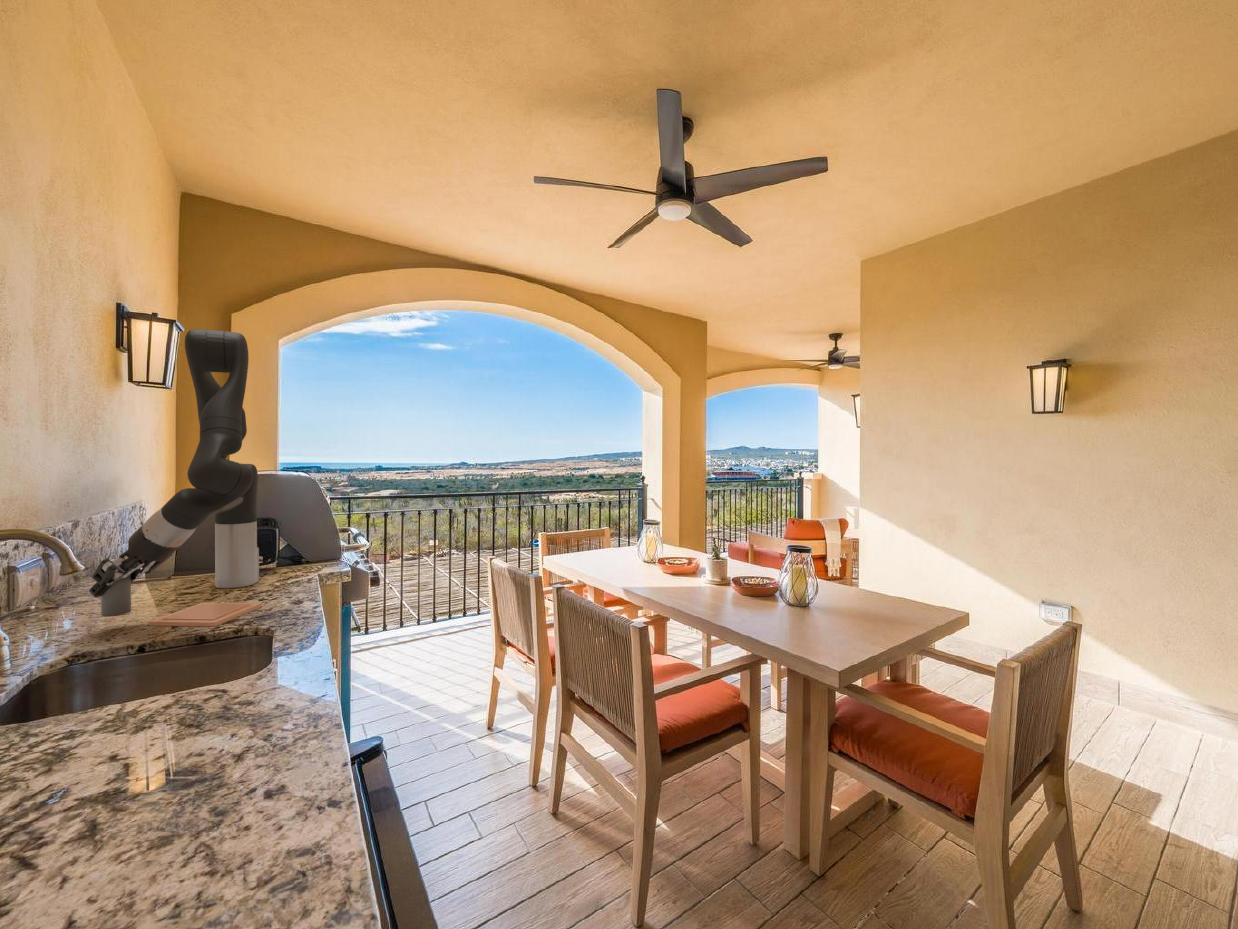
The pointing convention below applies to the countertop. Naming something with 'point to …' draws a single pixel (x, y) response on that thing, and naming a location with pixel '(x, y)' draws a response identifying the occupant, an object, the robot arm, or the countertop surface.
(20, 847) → the countertop surface
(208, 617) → the coaster
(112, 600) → the grey tall block
